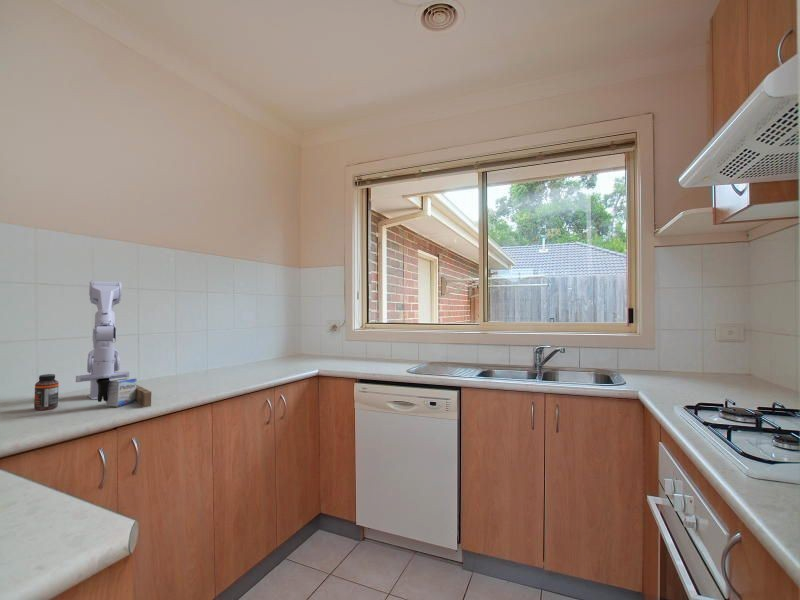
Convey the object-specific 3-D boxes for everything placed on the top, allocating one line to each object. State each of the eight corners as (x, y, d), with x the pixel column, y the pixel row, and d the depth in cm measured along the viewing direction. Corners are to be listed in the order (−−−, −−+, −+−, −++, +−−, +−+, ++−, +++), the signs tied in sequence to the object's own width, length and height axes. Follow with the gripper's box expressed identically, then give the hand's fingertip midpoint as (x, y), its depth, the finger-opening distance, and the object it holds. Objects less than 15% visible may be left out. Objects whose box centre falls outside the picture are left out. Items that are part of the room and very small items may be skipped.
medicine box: (117, 407, 134) (118, 381, 134) (105, 406, 134) (107, 380, 135) (135, 402, 141) (137, 378, 142) (124, 401, 142) (126, 377, 142)
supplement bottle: (29, 409, 130) (30, 375, 130) (51, 405, 135) (52, 372, 136) (40, 411, 128) (41, 377, 128) (61, 407, 133) (62, 374, 133)
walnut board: (128, 397, 148) (128, 384, 148) (134, 397, 149) (134, 383, 150) (144, 407, 135) (144, 392, 135) (151, 406, 136) (151, 391, 136)
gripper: (79, 363, 126) (77, 406, 126) (132, 360, 137) (131, 399, 136) (75, 362, 131) (73, 403, 130) (126, 358, 142) (125, 396, 141)
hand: (102, 401), depth 134 cm, fingers closed, pressing on medicine box
